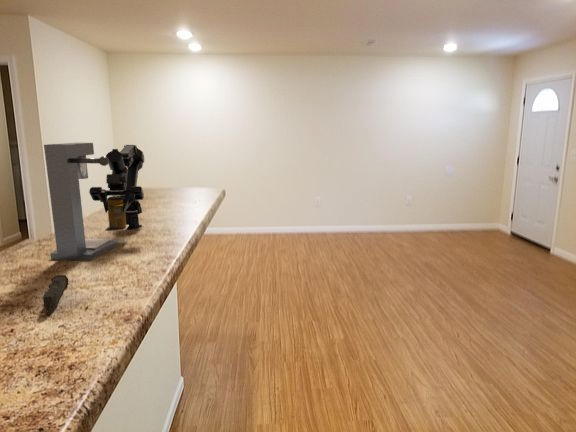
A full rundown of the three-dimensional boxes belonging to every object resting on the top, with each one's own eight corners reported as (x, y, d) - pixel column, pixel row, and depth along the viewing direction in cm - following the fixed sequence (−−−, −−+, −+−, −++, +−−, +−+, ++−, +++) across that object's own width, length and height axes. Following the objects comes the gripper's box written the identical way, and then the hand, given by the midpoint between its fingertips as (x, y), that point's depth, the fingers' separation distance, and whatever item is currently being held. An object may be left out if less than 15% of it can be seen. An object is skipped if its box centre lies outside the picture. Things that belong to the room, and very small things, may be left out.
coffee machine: (81, 243, 152) (70, 142, 144) (139, 245, 151) (131, 142, 142) (48, 260, 133) (33, 144, 125) (113, 262, 132) (102, 145, 123)
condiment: (129, 225, 158) (126, 195, 155) (125, 230, 150) (122, 199, 147) (109, 226, 156) (106, 195, 154) (104, 231, 148) (101, 199, 146)
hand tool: (53, 288, 112) (51, 272, 111) (69, 286, 113) (67, 271, 112) (34, 319, 94) (31, 301, 93) (53, 316, 95) (51, 298, 94)
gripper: (88, 165, 150) (81, 200, 142) (140, 165, 153) (136, 199, 145) (96, 183, 159) (90, 216, 151) (145, 182, 162) (142, 215, 154)
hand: (114, 211), depth 150 cm, fingers closed on condiment, 6 cm apart
